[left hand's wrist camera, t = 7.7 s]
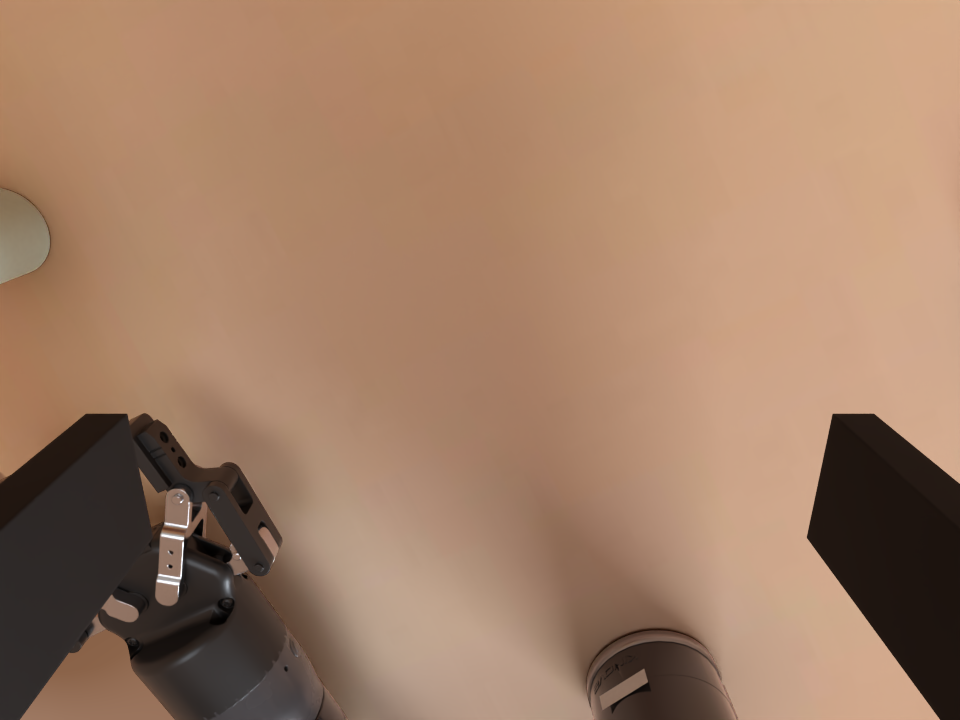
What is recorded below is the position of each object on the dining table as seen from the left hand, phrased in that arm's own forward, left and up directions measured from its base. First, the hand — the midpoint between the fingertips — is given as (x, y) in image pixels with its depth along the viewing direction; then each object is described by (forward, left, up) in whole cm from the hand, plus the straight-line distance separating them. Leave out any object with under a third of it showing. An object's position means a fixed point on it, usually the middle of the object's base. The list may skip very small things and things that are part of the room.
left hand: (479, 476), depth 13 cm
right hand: (+5, -24, -20) cm, 31 cm away
